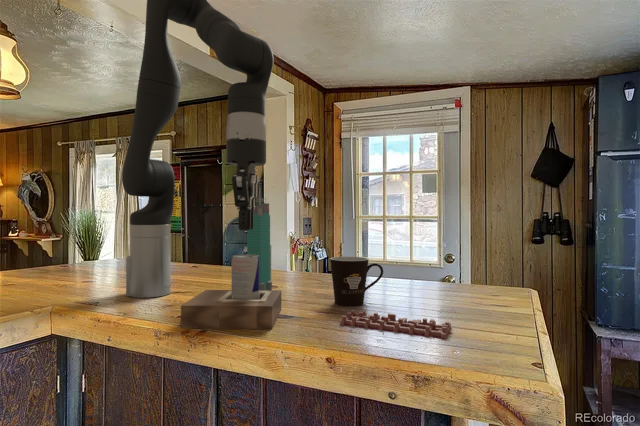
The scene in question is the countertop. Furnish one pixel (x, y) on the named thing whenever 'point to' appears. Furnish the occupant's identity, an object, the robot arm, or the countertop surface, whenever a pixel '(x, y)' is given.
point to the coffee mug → (351, 279)
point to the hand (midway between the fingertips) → (246, 229)
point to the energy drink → (246, 277)
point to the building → (261, 242)
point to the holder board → (231, 311)
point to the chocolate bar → (396, 324)
